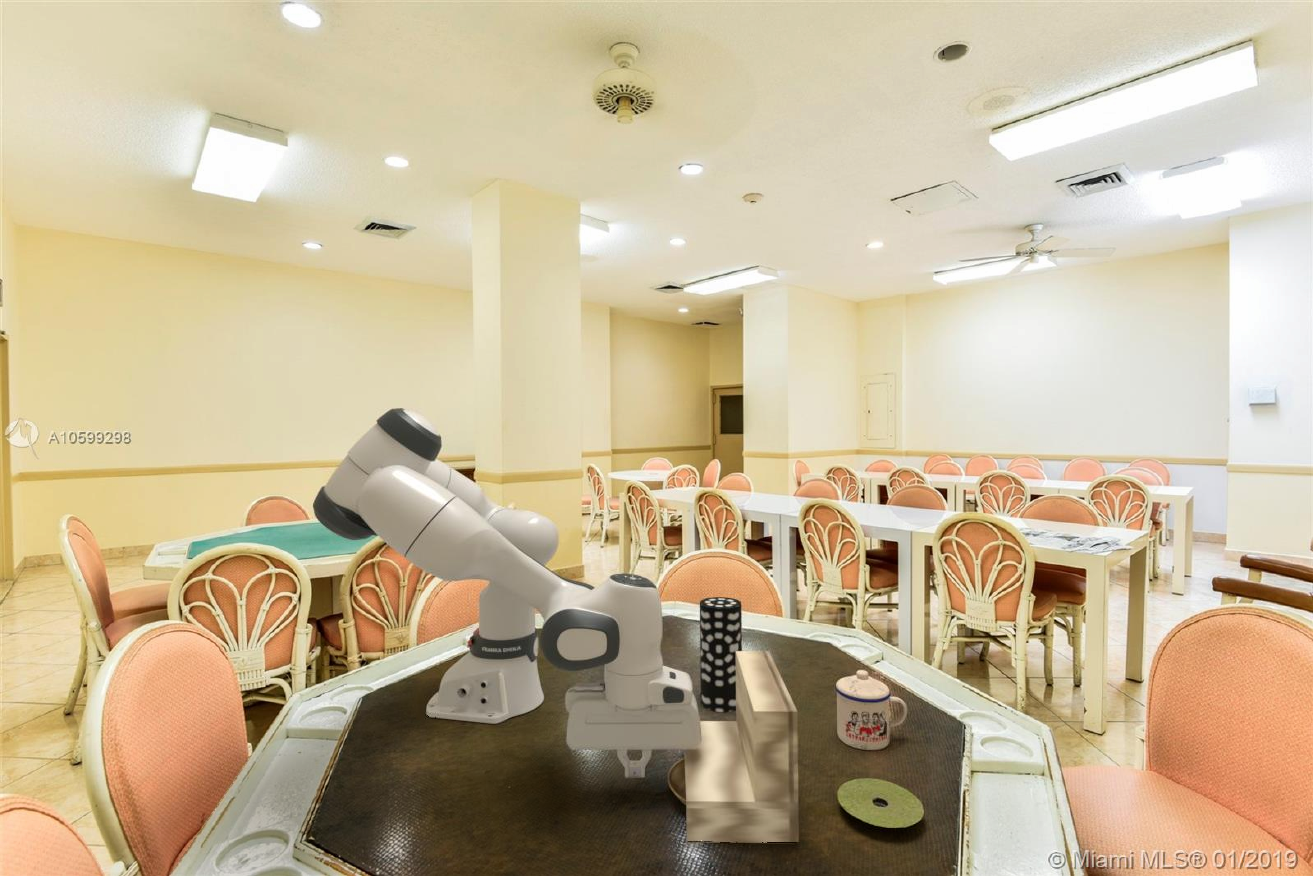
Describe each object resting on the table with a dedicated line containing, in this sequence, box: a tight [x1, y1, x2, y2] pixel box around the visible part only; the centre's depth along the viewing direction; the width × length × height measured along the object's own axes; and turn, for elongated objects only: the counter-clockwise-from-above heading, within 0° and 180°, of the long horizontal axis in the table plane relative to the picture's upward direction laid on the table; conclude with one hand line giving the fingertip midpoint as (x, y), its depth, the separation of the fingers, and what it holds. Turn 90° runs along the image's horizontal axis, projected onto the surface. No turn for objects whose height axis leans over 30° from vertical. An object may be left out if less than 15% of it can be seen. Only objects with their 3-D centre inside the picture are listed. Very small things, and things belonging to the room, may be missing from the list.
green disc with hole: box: [836, 777, 925, 829], centre depth 81 cm, size 11×11×2 cm
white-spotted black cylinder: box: [699, 596, 743, 713], centre depth 117 cm, size 8×8×20 cm
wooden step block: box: [682, 650, 800, 844], centre depth 87 cm, size 14×22×17 cm, turn 179°
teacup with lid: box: [835, 669, 908, 751], centre depth 102 cm, size 12×9×12 cm
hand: (634, 775), depth 88 cm, fingers closed
